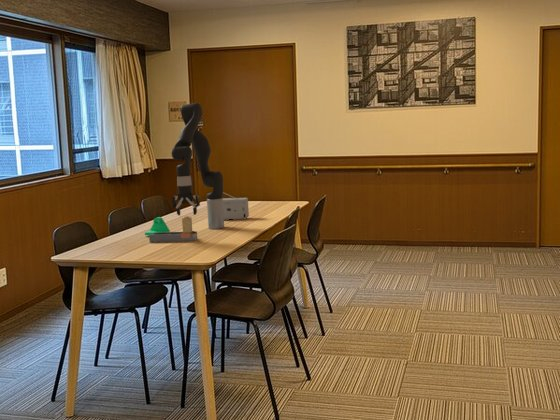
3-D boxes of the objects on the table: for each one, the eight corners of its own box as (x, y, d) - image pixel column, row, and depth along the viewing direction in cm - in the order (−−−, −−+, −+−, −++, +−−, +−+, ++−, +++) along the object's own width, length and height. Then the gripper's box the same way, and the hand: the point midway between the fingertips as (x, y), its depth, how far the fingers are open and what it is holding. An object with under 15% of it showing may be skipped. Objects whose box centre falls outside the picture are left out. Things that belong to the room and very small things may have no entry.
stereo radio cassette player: (249, 217, 428) (247, 186, 426) (247, 219, 420) (245, 187, 417) (216, 218, 430) (214, 187, 428) (214, 220, 422) (212, 189, 420)
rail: (154, 239, 365) (154, 231, 365) (197, 238, 361) (196, 230, 361) (149, 242, 357) (148, 234, 357) (193, 241, 353) (192, 233, 353)
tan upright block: (185, 235, 360) (184, 216, 359) (192, 235, 359) (191, 216, 358) (183, 237, 356) (181, 217, 355) (190, 237, 356) (189, 217, 354)
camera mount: (144, 237, 376) (142, 219, 374) (151, 234, 383) (150, 216, 381) (163, 237, 372) (161, 219, 370) (170, 235, 379) (168, 216, 377)
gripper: (199, 183, 356) (201, 213, 359) (173, 184, 359) (176, 214, 361) (195, 184, 349) (198, 215, 352) (169, 185, 351) (171, 216, 354)
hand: (186, 214), depth 356 cm, fingers open, 8 cm apart
